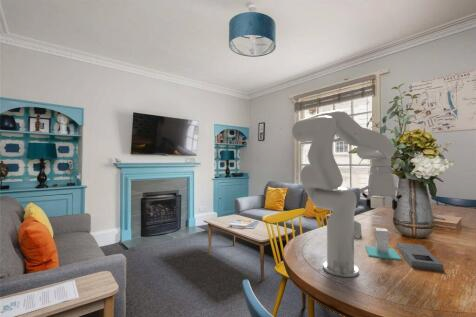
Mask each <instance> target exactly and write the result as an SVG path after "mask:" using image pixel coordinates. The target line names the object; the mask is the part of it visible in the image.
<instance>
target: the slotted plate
mask: <svg viewBox="0 0 476 317" xmlns="http://www.w3.org/2000/svg"><path fill="white" fill-rule="evenodd" d="M396 249H397V250H398V251H399V253H400V254H401V255H402V256H403V258H404V259H405V260H406V262H407V263H408V264H409V266H410V268H416V269H422V270H424V269H425V270H431V271H439V272H444V264H443V262H441V261H440V259H438V258H437V257H436V256H435V255H434V254H433V253H432V252H431V251H429V249H427V248H426V247H425V246H424V245H423V244H417V243H416V244H414V243H406V242H396Z"/></svg>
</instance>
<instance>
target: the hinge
mask: <svg viewBox="0 0 476 317" xmlns="http://www.w3.org/2000/svg"><path fill="white" fill-rule="evenodd" d="M362 236H363V235H362V226H361V222H359V221H357V220H355V219H354V239H361V237H362Z"/></svg>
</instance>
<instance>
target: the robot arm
mask: <svg viewBox="0 0 476 317" xmlns="http://www.w3.org/2000/svg"><path fill="white" fill-rule="evenodd" d="M291 128H292V130H291V133H292V137H293V138H294V139H295V140H296V141H298V142H301V143H306V142H311V144H310V146H309V150H308V152H307V159H308V164H306V165H304V166H303V168H302V169H301V171H300V175H299V178H300V182H301V185H302V187H303V189H304V191H305V192H306V194H307V197H308V199H309V201H310V202H311V203H312V204H313V206H315V207H316V208H319V209H324V210H328V211H331V214H330V215H329V216H328V219H327V221H326V247H327V248H326V255H327V256H326V260H325V261H324V262H323V263H322V269H323V270H324V271H326V272H327V273H329V274H331V275H333V276H335V277H336V276H337V277H341V278H342V277H343V278H353V277H356V276H358V275H359V273H360V269H359V267H358V266H357V265H355V238H354V220H355V212H356V207H357V202H358V199H357V198H358V197H357V195H356V193H355V192H354V191H353V190H352V189H350V188H348V187H343V186H342V185H343V182H344V181H343V180H344V179H343V175H342V173H341V170H340V168H339V165H338V163H337V161H336V159H335V156H334V155H333V149H332V148H333V142H334V139H335V137H338V138H339V139H340V140H341V141H343V142H344V144H347V145H349V146H353V147H356V154H357V157H359V158H360V159H362V160H371V172H370V173H369V175H368V181H367V186H365V187H361V188H360V189H359V192H360V193H361V195H362V196H363V197H364V198H365V199H366V202H365V204H366V207H367V208H368V209H371V207H372V206H371V205H372V201H371V198H372V197H375V196H376V197H391V199H392V200H391V207H392V210H393V211H396V210H397V208H398V201H399V200H400V199H401V198H402V196H403V195H404V194H405V190H402V189H401V188H398V187H397V186H395V185H396V184H395V178H394V173H392V172H395V171H396V168H395V167H392V158H393V157H394V155H395V152H396V148H395V145H394V144H393V142H392V140H390V138H388V137H387V135H385V134H383V133H381V132H379V131H376V130H373V129H369V128H366V127H363V126H361V125H360V123H358V122H357V121H356V120H355V119H354V118H352V117H351V116H350V115H349V114H348V113H347V112H345V111H344V110H342V109H341V110H340V109H336V110H330V111H326V112H321V113H317V114H315V115H312V116H308V117H306V118H305V117H304V118H302V119H298V120H297V121H296V122H295V123H294V124H293V126H292V127H291ZM365 191H367V192H368V194H366V193H365ZM396 191H397V192H398V194H397V195H396Z"/></svg>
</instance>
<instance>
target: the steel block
mask: <svg viewBox="0 0 476 317" xmlns="http://www.w3.org/2000/svg"><path fill="white" fill-rule="evenodd" d="M374 231H375V232H374V233H375V236H374V241H375V242H374V244H375V246H374V247H375V250H376V252H377V253H382V254H389V248H390V247H389V246H390V245H389V230H388V229H387V228H381V227H375V228H374Z"/></svg>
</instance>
